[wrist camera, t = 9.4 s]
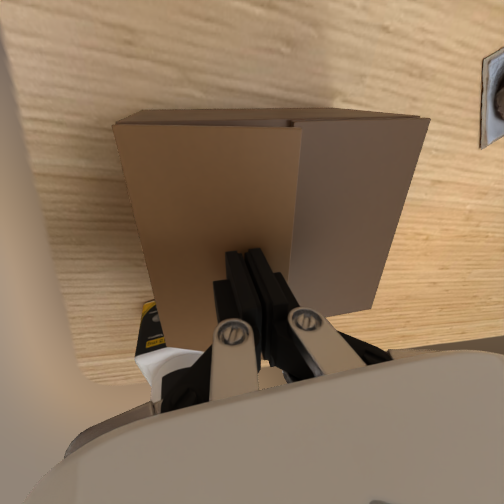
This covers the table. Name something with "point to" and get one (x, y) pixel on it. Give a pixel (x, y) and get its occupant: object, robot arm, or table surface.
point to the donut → (493, 99)
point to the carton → (333, 193)
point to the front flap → (207, 211)
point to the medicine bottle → (160, 355)
